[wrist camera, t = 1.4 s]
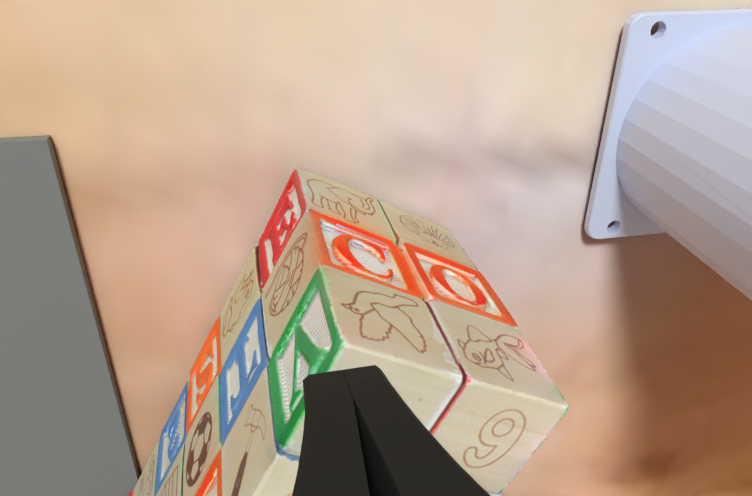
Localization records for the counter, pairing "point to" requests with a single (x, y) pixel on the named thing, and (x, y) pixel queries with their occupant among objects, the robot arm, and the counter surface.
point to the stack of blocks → (352, 349)
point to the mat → (52, 344)
